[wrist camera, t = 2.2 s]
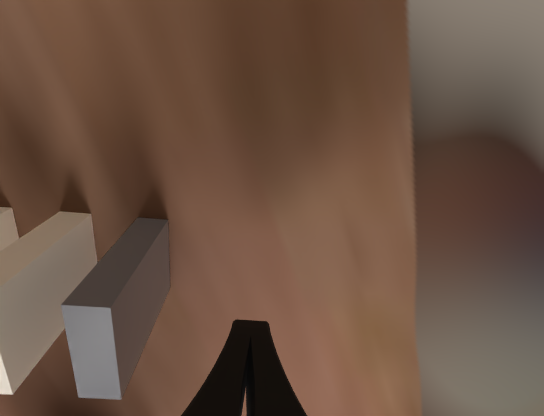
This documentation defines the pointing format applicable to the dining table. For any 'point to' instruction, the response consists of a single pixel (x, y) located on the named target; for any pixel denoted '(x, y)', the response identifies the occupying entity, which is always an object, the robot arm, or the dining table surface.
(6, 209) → the domino
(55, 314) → the domino
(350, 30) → the dining table surface
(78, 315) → the domino
